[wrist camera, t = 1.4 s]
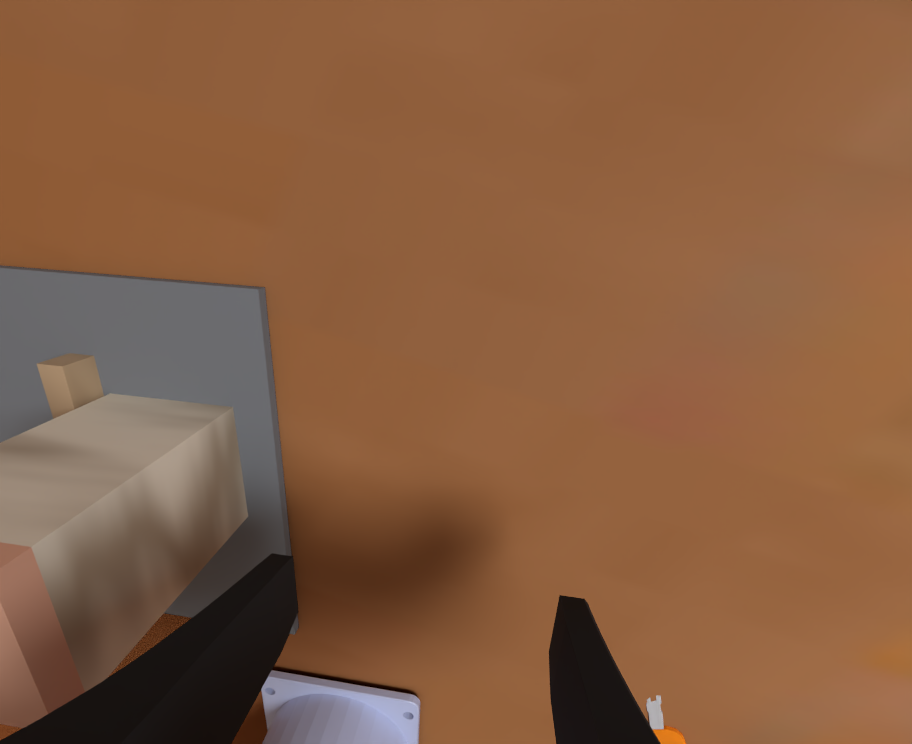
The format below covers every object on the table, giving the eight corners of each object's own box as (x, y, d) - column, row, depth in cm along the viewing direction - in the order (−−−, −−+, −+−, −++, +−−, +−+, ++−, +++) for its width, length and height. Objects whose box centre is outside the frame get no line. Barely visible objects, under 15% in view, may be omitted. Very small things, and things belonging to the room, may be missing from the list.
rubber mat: (298, 626, 20) (294, 634, 20) (-2, 578, 22) (-11, 584, 21) (264, 287, 15) (258, 289, 14) (-138, 254, 16) (-154, 255, 16)
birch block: (248, 516, 18) (57, 734, 10) (137, 501, 18) (-122, 699, 11) (232, 407, 16) (-11, 576, 9) (110, 393, 16) (-222, 542, 9)
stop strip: (137, 528, 19) (114, 548, 18) (117, 525, 19) (92, 545, 18) (93, 355, 16) (62, 366, 15) (69, 353, 16) (36, 363, 15)
